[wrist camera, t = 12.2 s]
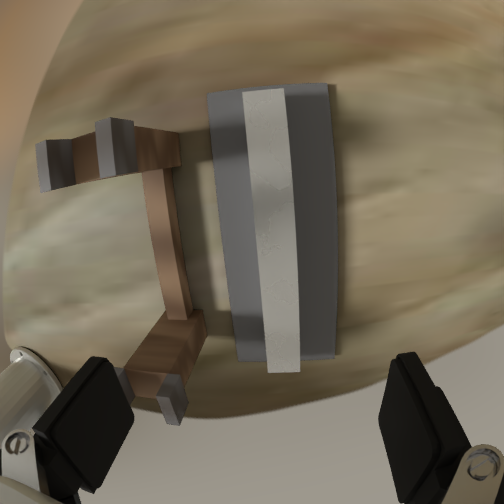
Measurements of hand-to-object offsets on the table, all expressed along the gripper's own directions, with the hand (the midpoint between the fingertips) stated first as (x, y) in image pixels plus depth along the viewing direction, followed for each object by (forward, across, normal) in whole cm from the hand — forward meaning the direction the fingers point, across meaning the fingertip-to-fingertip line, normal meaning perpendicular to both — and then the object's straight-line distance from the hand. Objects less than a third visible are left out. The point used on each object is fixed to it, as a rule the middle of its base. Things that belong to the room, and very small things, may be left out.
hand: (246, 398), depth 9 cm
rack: (+19, +9, 0) cm, 21 cm away
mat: (+19, -1, 0) cm, 19 cm away
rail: (+18, -1, 0) cm, 18 cm away
